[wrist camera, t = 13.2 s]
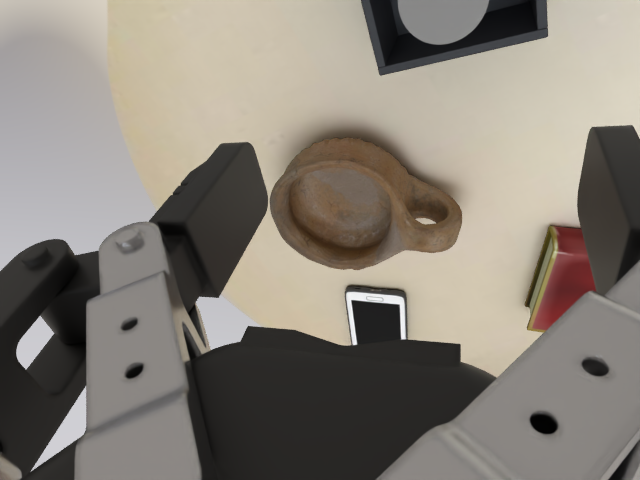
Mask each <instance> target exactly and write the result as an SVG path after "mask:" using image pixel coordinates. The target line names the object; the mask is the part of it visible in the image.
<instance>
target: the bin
mask: <svg viewBox="0 0 640 480" xmlns="http://www.w3.org/2000/svg"><path fill="white" fill-rule="evenodd" d="M361 3H362V6H363V10H364V14H365V18H366V22H367V26H368V30H369V34H370V38H371V42H372V46H373V50H374V54H375V58H376V62H377V66H378V70H379V74H380V75H385V74H389V73H394V72H398V71H402V70H407V69H411V68H415V67H420V66H424V65H428V64H433V63H437V62H442V61H446V60H450V59H455V58H459V57H463V56H468V55H472V54H476V53H481V52H485V51H489V50H494V49H498V48H502V47H507V46H511V45H515V44H520V43H524V42H528V41H533V40H537V39H541V38H546V37H548V28H547V27H548V23H547V0H489V3H488V7H487V10H486V12H485V14H484V16H483V18H482V20H481V21H480V23H479V24H478V25H477V27H476V28H475V29H474V30H473V31H472V32H471V33H469V34H468V35H467V36H465V37H464V38H462V39H460V40H458V41H456V42H453V43H449V44H442V45H436V44H430V43H426V42H423V41H421V40H419V39H418V38H416V37H415V36H413V35H412V34H411V33H410V32H409V31H408V30H407V28H406V27H405V25H404V24H403V22H402V20H401V17H400V14H399V9H398V0H361Z"/></svg>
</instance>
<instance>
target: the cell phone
mask: <svg viewBox="0 0 640 480" xmlns="http://www.w3.org/2000/svg"><path fill="white" fill-rule="evenodd" d="M345 301H346V308H347V315H348V322H349V330H350V337H351V344H352V345H359V344H367V343H376V342H384V341H392V340H400V339H406V340H407V304H406V295H405V293H404V292H402V291H399V290H388V289H381V290H378V289H371V288H367V287H355V286H351V287H347V288H346V291H345Z"/></svg>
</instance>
